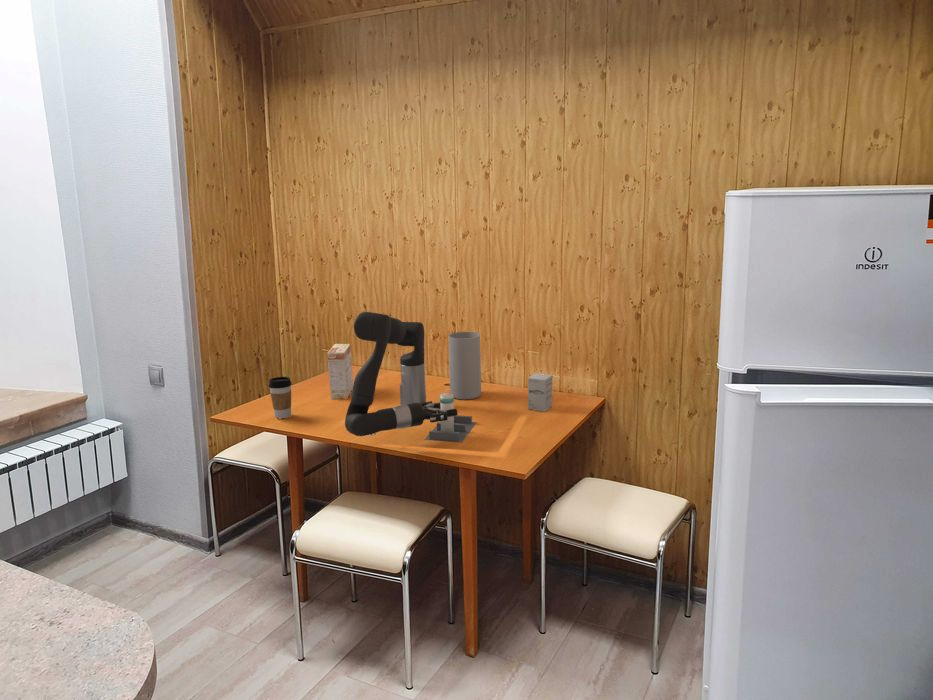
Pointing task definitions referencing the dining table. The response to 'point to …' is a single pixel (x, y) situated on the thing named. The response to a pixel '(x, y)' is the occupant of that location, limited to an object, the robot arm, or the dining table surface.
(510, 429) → the dining table surface
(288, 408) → the coffee cup
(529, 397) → the supplement box
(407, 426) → the robot arm
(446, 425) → the white bottle teal band
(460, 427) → the grey twin-rail base
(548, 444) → the dining table surface
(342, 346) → the coffeecake box
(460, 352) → the cylinder vase
